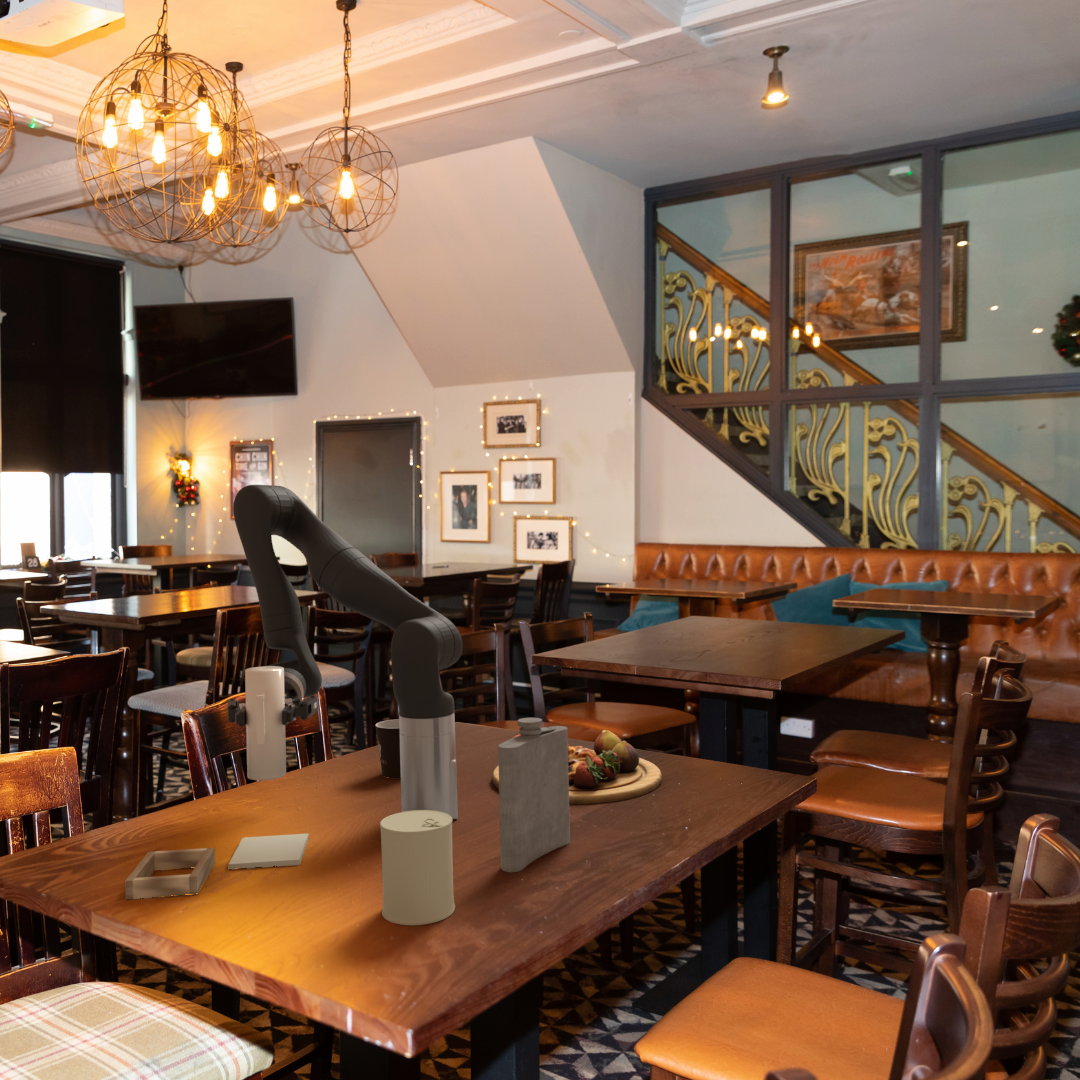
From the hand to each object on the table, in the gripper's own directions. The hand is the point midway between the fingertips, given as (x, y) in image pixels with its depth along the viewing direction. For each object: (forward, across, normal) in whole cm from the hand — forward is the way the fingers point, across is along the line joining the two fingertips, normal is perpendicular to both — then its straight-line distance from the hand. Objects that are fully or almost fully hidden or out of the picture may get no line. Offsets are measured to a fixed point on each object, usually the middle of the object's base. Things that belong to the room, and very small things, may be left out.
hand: (263, 718), depth 144 cm
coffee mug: (-46, +19, +21) cm, 54 cm away
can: (+24, +22, +20) cm, 39 cm away
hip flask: (+6, +39, +21) cm, 45 cm away
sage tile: (-2, 0, +21) cm, 21 cm away
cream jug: (-1, 0, +9) cm, 9 cm away
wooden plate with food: (-34, +52, +22) cm, 66 cm away
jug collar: (+7, -12, +21) cm, 25 cm away
